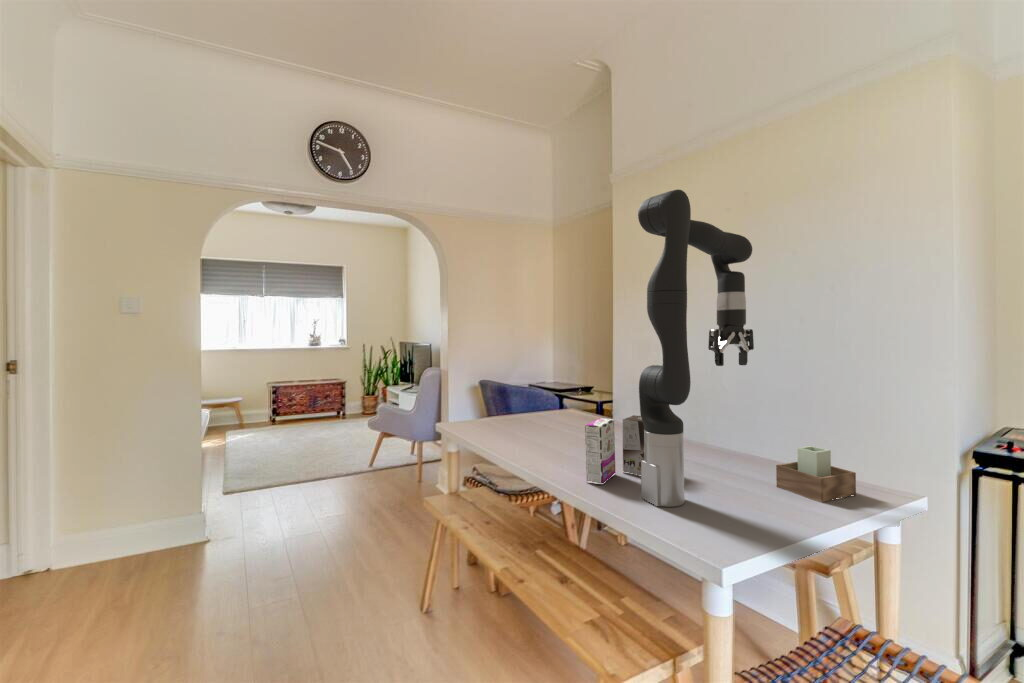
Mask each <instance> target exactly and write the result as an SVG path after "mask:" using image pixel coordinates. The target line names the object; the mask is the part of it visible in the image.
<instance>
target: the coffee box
mask: <svg viewBox="0 0 1024 683" xmlns="http://www.w3.org/2000/svg"><path fill="white" fill-rule="evenodd" d="M642 460H644V423H643V421H642V418H641V415H634V414H633V415H631V416H629V417H625V418H623V419H622V472H623V471H624V472H629V473H633V474H637V475H641V461H642ZM637 475H636V476H637Z"/></svg>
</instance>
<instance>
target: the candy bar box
mask: <svg viewBox="0 0 1024 683" xmlns="http://www.w3.org/2000/svg"><path fill="white" fill-rule="evenodd" d="M584 428H585V429H584V430H585V431H584V432H585V455H586V456H585V460H586V461H585V464H586V482H587V481H592V482H597V483H604V482H605V481H606V480H607V479H609V478H610V477H611V476H612V475H613V474H614V473H616V450H615V449H616V446H615V442H616V441H615V440H616V439H615V438H616V437H615V419H613V418H605V417H604V418H603V417H602V418H600V417H599V418H597V419H595V420H593V421H591V422H589V423H587V424H585V425H584ZM609 480H610V479H609Z"/></svg>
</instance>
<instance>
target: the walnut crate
mask: <svg viewBox="0 0 1024 683" xmlns="http://www.w3.org/2000/svg"><path fill="white" fill-rule="evenodd" d="M775 476H776V488H778V489H782V490H785V491H787V490H788V492H790V491H791V492H790V493H792V494H793V493H794V494H797V495H799V496H801V495H802V497H803V498H807V499H811V500H813V501H816V502H818V501H820V502H819V503H821V502H822V503H825V502H824V501H827V502H829V501H828V500H832V499H836V498H841V497H847V496H851V495H856V494H857V477H856V476H857V473H856V472H854V471H851V470H847V469H844V468H841V467H836V466H832V465H831V476H826V477H817V476H814V475H811V474H807V473H804V472H801V471H798V461H794V462H787V463H780V464H776V474H775ZM856 496H857V495H856ZM847 498H848V497H847ZM832 501H833V500H832Z"/></svg>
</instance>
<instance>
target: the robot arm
mask: <svg viewBox="0 0 1024 683" xmlns="http://www.w3.org/2000/svg"><path fill="white" fill-rule="evenodd" d="M690 203H691V202H690V199H689V197H688V195H687V193H686V192H685V191H684V190H682V189H679V188H678V189H673V190H670V191H666V192H664V193H663V192H662V193H660V194H657V195H654V196H651V197H648V198H647V199H645V200H643V201H642V202H641V203H640V206H639V207H638V211H637V216H638V217H637V218H638V222H639V224H640V227H641V228H642V229H643V230H644V231H645V232H646V233H649V234H651V235H655V236H659V237H664V238H665V239H664V245H663V246H664V247H663V250H662V253H661V256H660V257H659V260H658V262H657V264H656V266H655V268H654V270H653V271H652V274H651V276H650V277H649V280H648V283H647V288H646V311H647V316H648V319H649V321H650V323H651V326H652V327H653V329H654V331H655V334H656V335H657V338H658V339H659V342H660V346H661V352H662V365H655V364H652V365H648V366H647V367H645V368H644V369H643V370H642V372H641V374H640V376H639V382H638V395H639V397H638V398H639V412H640V414H639V415H640V416H641V418H642V421H643V423H644V460H642V461H641V476H640V477H641V478H640V479H641V480H640V482H641V485H640V486H641V488H640V489H641V493H640V494H641V499H642V498H643V499H642V500H644V499H645V500H644V501H646V500H647V501H646V502H648V503H649V502H650V503H649V504H651V503H652V504H651V505H653V504H654V505H653V506H655V507H657V506H658V507H666V508H668V507H679V506H682V505H684V503H685V452H684V451H685V447H684V445H685V444H684V443H685V441H684V440H685V439H684V437H685V436H684V435H685V434H684V433H685V432H684V421H683V420H682V418H680V416H678V415H676V414H675V413H674V412H673V410H672V408H671V406H680V405H682V404H684V403H685V402H686V401H687V399H688V397H689V395H690V391H691V370H690V360H689V350H688V331H687V323H688V322H687V318H688V317H687V315H688V314H687V313H688V282H687V281H688V280H687V278H688V277H687V274H688V272H687V271H688V268H687V267H688V248H689V247H688V246H690V247H693V248H694V249H697V250H699V251H701V252H703V253H705V254H707V255H709V256H710V259H711V262H712V266H713V268H714V273H715V275H716V279H717V281H716V282H717V296H716V325H717V326H718V328H712V329H709V330H708V345H707V346H708V350H709V351H712V352H713V353H714V364H715V365H716V367H724V363H725V362H724V361H725V360H724V356H725V355H724V351H725V349H726V347H728V346H729V345H733V346H735V347H737V349H738V351H739V352H738V365H739V366H747V365H748V353H749V351H753V350H754V349H755V347H754V331H753V329H749V328H747V329H745V328H744V326H745V325H747V300H746V282H745V279H746V277H745V274H744V273H743V272H741V271H734V270H731V269H730V267H729V265H732V264H738V263H739V264H740V263H743V262H746V261H747V260H749V259H750V258H751V256H752V254H753V246H752V243H751V242H750V240H749V239H748V238H747V237H746V236H743V235H741V234H737V233H733V232H728V231H723V230H722V229H720V228H719V227H718V226H715V225H713V224H712V223H708V222H705V221H700V220H696V219H695V220H693V219H691V213H692V211H691V210H692V208H691V204H690Z"/></svg>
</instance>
